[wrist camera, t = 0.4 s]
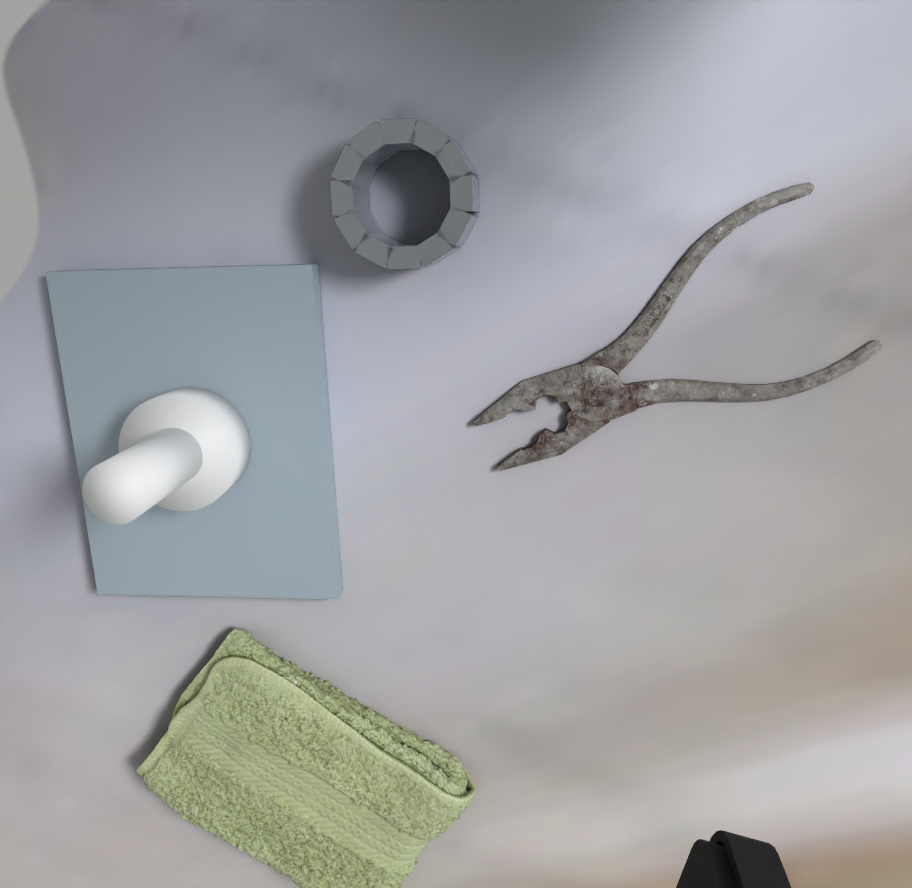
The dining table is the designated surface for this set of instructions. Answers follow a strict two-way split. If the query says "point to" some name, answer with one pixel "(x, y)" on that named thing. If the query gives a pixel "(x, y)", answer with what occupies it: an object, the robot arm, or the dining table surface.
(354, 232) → the ring
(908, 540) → the dining table surface
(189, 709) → the washcloth
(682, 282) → the pliers
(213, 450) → the piston block
